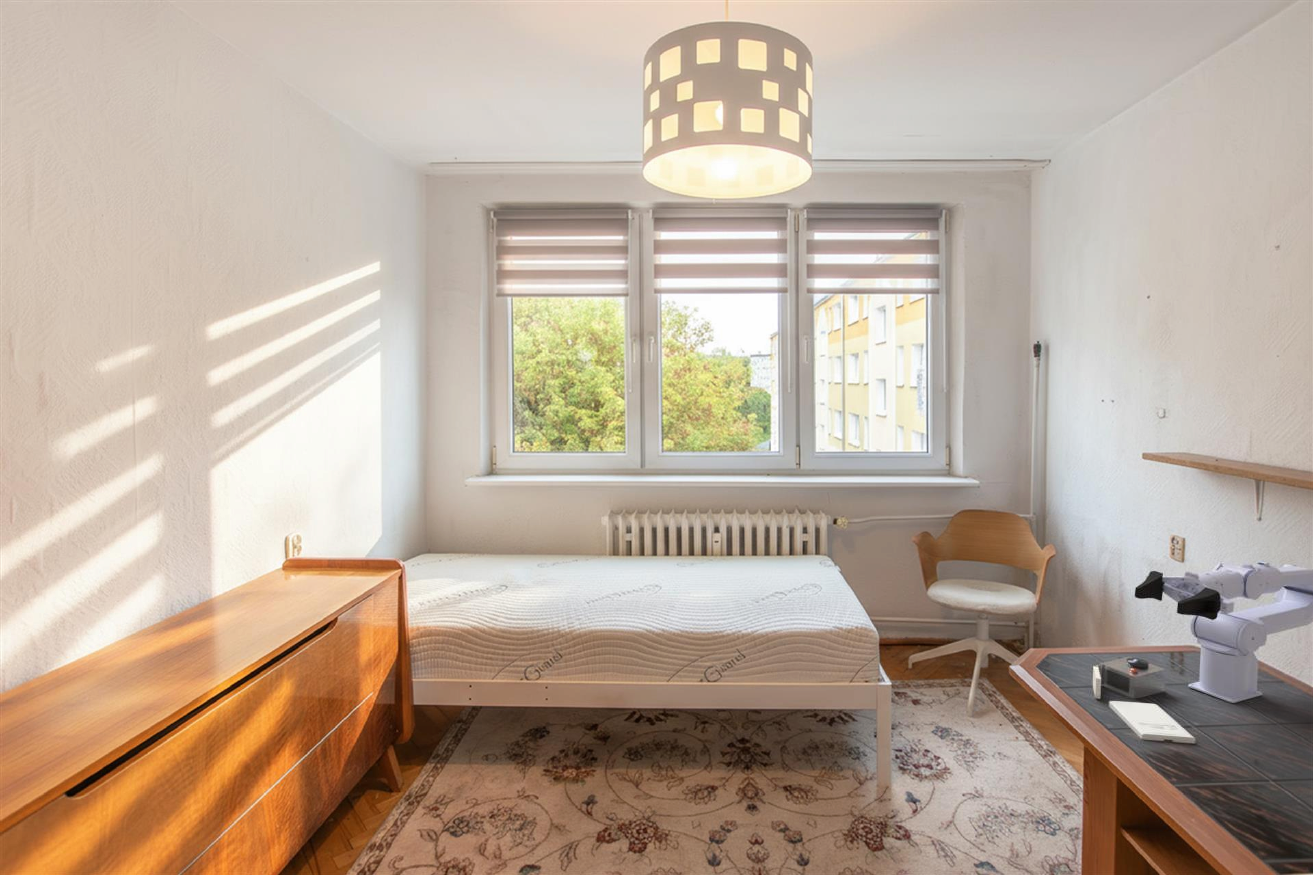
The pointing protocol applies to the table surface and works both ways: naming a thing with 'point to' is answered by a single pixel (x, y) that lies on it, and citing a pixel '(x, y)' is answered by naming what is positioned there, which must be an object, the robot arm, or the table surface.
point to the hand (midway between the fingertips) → (1157, 600)
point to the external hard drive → (1150, 722)
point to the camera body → (1132, 677)
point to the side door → (1097, 681)
